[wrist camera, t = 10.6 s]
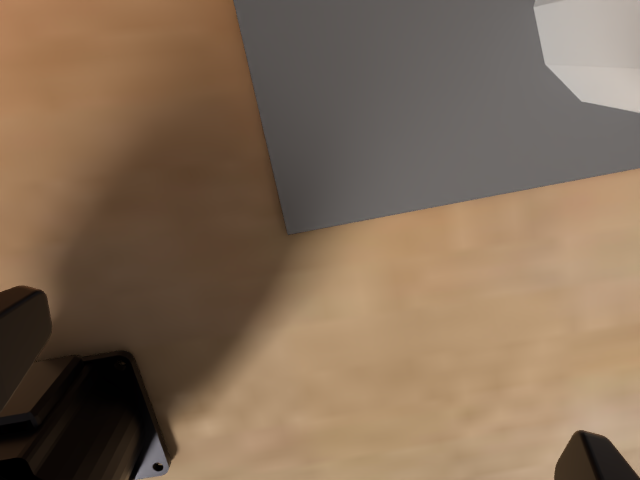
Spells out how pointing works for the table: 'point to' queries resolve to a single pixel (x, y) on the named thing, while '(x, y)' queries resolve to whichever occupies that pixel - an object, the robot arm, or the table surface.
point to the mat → (416, 107)
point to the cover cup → (593, 48)
